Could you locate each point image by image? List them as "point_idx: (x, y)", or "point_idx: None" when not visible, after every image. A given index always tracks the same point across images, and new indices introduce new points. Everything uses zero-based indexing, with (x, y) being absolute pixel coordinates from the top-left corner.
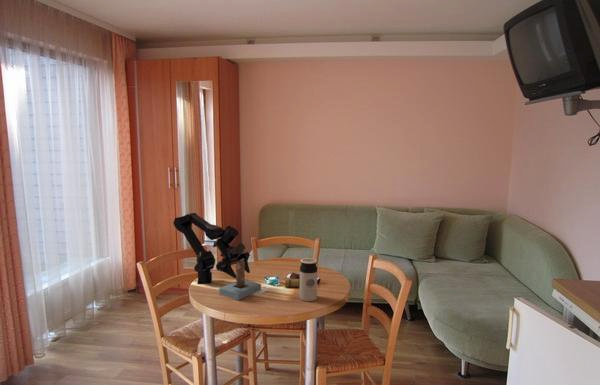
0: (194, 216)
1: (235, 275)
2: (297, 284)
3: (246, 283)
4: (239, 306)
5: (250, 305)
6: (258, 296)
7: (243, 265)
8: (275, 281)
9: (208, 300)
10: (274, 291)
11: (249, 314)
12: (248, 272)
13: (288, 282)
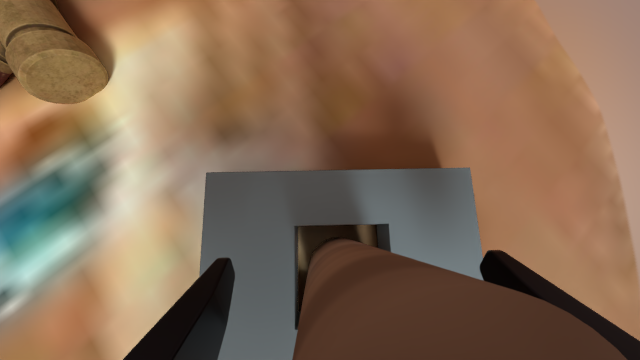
0: None
1: (519, 266)
2: (54, 7)
3: (267, 277)
4: (497, 111)
5: (447, 75)
6: (323, 122)
7: (413, 262)
8: (25, 208)
9: None
10: (201, 97)
11: (523, 13)
12: (231, 273)
13: (70, 36)
